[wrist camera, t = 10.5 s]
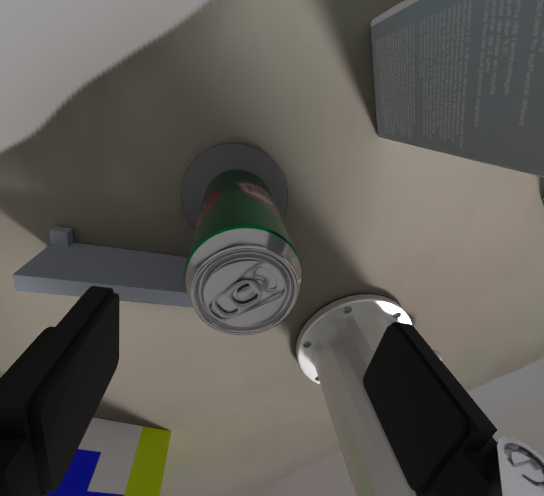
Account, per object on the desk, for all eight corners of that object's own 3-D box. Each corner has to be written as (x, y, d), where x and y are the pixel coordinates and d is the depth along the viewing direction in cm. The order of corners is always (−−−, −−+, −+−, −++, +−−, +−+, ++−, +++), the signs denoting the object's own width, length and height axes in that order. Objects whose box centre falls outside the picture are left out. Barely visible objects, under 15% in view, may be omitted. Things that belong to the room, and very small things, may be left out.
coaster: (297, 155, 22) (299, 157, 21) (273, 249, 25) (274, 252, 24) (188, 131, 20) (187, 132, 19) (178, 235, 23) (177, 238, 23)
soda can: (282, 208, 23) (330, 302, 12) (230, 242, 23) (232, 360, 13) (245, 153, 20) (264, 210, 10) (189, 193, 21) (150, 286, 11)
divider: (261, 254, 25) (267, 287, 21) (253, 288, 26) (257, 325, 22) (54, 225, 22) (9, 257, 17) (59, 266, 23) (18, 305, 19)
